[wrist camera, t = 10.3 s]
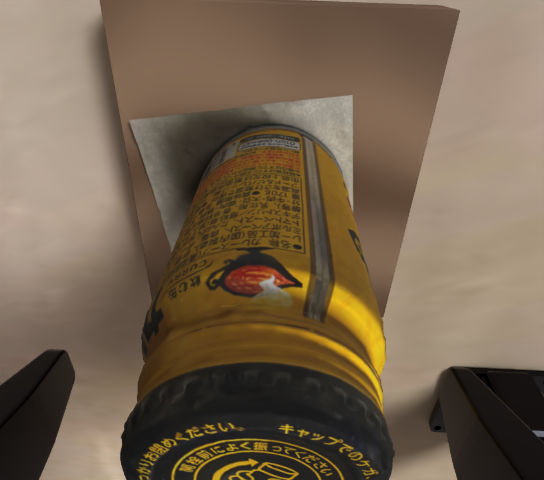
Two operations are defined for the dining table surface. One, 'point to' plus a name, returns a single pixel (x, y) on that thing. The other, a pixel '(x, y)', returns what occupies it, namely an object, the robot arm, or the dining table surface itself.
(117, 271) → the dining table surface
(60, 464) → the dining table surface
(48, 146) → the dining table surface
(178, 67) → the stand
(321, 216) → the condiment
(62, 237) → the dining table surface
